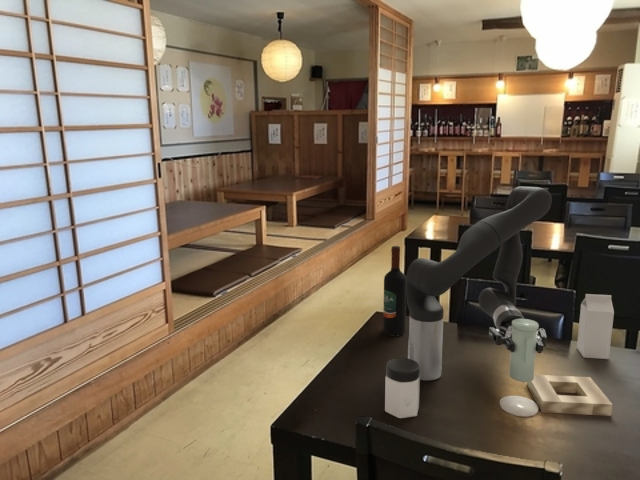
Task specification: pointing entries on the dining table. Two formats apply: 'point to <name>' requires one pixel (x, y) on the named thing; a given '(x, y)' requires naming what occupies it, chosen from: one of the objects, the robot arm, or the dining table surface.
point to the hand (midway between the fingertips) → (526, 349)
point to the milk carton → (595, 326)
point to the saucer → (519, 406)
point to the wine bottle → (394, 297)
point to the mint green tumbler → (523, 349)
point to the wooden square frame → (584, 403)
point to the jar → (402, 387)
